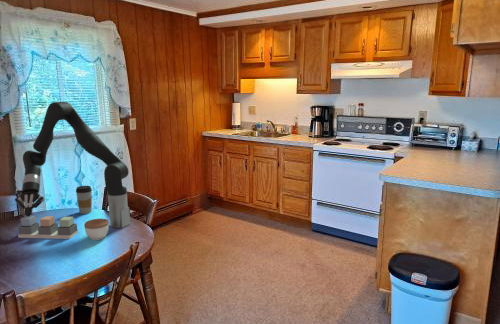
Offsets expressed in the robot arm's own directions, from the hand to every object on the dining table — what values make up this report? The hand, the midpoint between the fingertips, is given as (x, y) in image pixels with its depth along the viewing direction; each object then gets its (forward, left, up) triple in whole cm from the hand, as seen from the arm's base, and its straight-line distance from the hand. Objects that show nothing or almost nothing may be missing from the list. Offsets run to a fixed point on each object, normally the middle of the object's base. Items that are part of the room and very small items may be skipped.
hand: (27, 215), depth 171 cm
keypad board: (-9, -3, -10) cm, 14 cm away
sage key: (-18, -6, -4) cm, 20 cm away
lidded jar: (-33, -10, -10) cm, 36 cm away
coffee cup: (+1, -35, -10) cm, 36 cm away
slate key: (0, 0, -4) cm, 4 cm away
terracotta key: (-9, -3, -4) cm, 11 cm away
